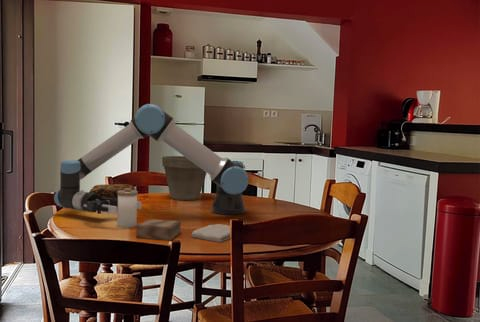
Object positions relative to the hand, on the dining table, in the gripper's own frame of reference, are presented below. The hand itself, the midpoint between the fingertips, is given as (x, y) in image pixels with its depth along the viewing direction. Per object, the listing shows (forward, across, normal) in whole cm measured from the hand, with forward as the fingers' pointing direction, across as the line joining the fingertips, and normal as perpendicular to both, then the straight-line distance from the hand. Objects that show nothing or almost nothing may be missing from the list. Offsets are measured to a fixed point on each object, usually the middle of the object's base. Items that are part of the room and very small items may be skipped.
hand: (128, 207), depth 177 cm
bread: (-35, +29, +7) cm, 46 cm away
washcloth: (+35, +8, +8) cm, 37 cm away
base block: (+18, -5, +7) cm, 20 cm away
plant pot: (-22, +68, +7) cm, 72 cm away
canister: (-1, 0, +7) cm, 7 cm away
